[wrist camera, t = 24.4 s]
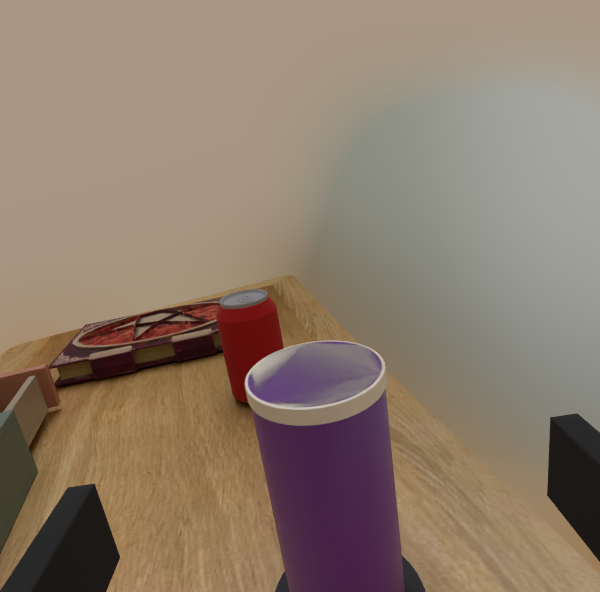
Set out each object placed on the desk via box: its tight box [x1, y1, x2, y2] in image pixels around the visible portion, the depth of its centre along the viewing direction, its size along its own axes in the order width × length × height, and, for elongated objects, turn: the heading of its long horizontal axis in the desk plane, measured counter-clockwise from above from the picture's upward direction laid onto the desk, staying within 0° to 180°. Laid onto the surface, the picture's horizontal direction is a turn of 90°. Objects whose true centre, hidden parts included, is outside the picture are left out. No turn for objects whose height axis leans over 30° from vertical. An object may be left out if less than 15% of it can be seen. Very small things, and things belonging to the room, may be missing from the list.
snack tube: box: [245, 341, 405, 592], centre depth 23 cm, size 7×7×15 cm
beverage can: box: [216, 289, 284, 403], centre depth 49 cm, size 7×7×12 cm
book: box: [48, 297, 223, 387], centre depth 71 cm, size 28×21×5 cm
